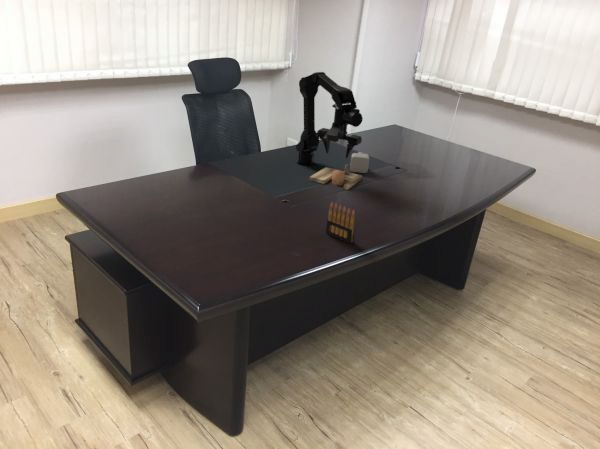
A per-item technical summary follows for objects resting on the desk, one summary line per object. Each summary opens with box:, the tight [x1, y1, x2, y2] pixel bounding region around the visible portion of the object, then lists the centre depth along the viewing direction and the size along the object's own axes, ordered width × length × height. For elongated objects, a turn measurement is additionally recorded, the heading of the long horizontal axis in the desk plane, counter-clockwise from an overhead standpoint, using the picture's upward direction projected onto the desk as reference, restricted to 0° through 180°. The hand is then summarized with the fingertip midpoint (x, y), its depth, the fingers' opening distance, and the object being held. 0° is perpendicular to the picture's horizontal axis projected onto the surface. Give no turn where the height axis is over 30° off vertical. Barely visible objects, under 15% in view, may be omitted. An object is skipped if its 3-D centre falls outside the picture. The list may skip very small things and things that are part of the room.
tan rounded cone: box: [331, 169, 345, 186], centre depth 214 cm, size 5×5×5 cm
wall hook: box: [349, 151, 370, 174], centre depth 231 cm, size 8×10×10 cm
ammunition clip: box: [325, 201, 356, 244], centre depth 167 cm, size 11×2×12 cm, turn 50°
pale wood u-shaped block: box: [309, 163, 363, 191], centre depth 218 cm, size 18×16×6 cm
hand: (336, 155), depth 215 cm, fingers open, 9 cm apart
